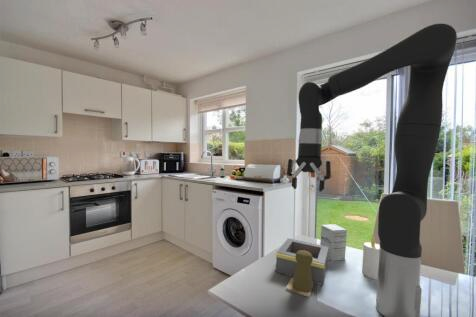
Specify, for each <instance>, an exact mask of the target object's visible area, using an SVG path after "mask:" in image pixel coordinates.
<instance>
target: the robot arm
mask: <svg viewBox="0 0 476 317" xmlns="http://www.w3.org/2000/svg"><path fill="white" fill-rule="evenodd" d="M457 39H458V35H457V31H456V29H455V28H454V27H453V26H452V25H451V24H447V23H433V24H431V25H428V26H425V27H423V28H422V29H420V30H418V31H416V32H414V33H413V34H411V35H409V36H408V37H406V38H404V39H403V40H401V41H400V42H398V43H396V44H394V45H392V46H390V47H389V48H387V49H385V50H383V51H381V52H380V53H378V54H375V55H374V56H372V57H370V58H367V59H365V60H364V61H362V62H360V63H357V64H355V65H352V66H351V67H347V68H346V69H343V70H342V71H341V70H340V71H339V72H336V73H334V74H332V75H330V76H329V77H328V79H327V81H326V82H324V83H323V84H318V83H317V82H314V81H307V82H304V83H303V84H302V86H301V87H300V90H299V91H298V108H299V113H300V125H299V126H300V128H299V129H300V130H299V134H298V140H297V141H298V148H297V151H298V152H297V158H296V159H293V158H288V160H287V170H286V175H287V177H291V187H292V188H293V189H294V190H296V189H297V187H298V176H299V175H300V174H301V173H309V174H310V173H311V174H312V173H315V175H317V177H318V179H319V187H318V192H323V191H324V189H325V185H326V184H325V182H326V180H329V179H331V178H332V173H331V166H332V165H331V161H330V160H326V161H325V160H322V144H323V142H322V141H323V134H322V133H323V131H322V129H323V127H322V126H323V114H322V113H321V111H320V108H319V107H321V106H323V105H326V104H327V103H330V102H331V101H333V100H335V99H337V97H341V96H343V95H347V94H349V93H353V92H354V91H357V90H359V89H361V88H364V87H366V86H368V85H370V84H371V83H372V82H374V81H377V80H378V79H379V78H381V77H383V76H385V75H387V74H390V73H392V72H394V71H397V70H399V69H403V68H406V67H409V80H408V81H409V82H408V89H407V94H406V97H405V99H404V101H403V104H402V106H401V109H400V112H399V114H398V119H397V124H396V129H395V134H394V157H395V164H396V165H395V166H396V173H395V179H394V180H395V181H394V185H393V187H392V190H391V193H388V194H386V195H385V196H384V197H383V198H381V201H380V202H379V205H378V206H379V207H378V214H377V215H378V217H377V218H378V220H377V221H378V223H377V230H378V231H377V235H378V239H379V245H380V249H379V265H378V279H376V281H377V282H376V283H377V284H376V296H375V297H376V298H375V307H376V310H377V312H379V313H380V314H381V315H382V317H421V304H422V294H423V293H422V292H423V291H422V287H421V285H420V281H421V280H420V279H421V278H420V276H421V263H422V262H421V261H422V252H423V251H422V249H423V248H422V244H421V242H420V241H421V240H420V239H421V237H420V235H421V223H422V221H423V220H424V219H425V217H426V215H427V212H428V190H429V189H428V188H429V177H430V173H431V169H432V166H433V164H434V159H435V156H436V153H437V152H436V151H437V146H438V144H439V140H440V139H439V138H440V133H441V127H442V120H443V107H444V106H443V103H444V102H443V90H444V83H445V81H446V77H447V75H448V74H447V73H448V70H449V67H450V63H451V61H452V58H453V55H454V53H455V50H456V44H457ZM295 164H296V165H297V166H298V167H297V169H296V170H295V171H294V172H293V166H295ZM322 165H323V167H324V168H325V170H326V172H325V175H324V174H323V172H322V171H321V169H320V167H321V166H322Z"/></svg>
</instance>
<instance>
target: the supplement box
mask: <svg viewBox="0 0 476 317" xmlns="http://www.w3.org/2000/svg"><path fill="white" fill-rule="evenodd" d="M347 232H348V229H346V228H343V227H341V226H339V225H337V224H335V223H331V224H321V228H320V243H319V245H322V246H327V247H329V251H328V261H331V262H333V261H342V260H346V251H347V250H346V249H347V248H346V247H347Z"/></svg>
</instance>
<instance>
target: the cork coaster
mask: <svg viewBox="0 0 476 317" xmlns="http://www.w3.org/2000/svg"><path fill="white" fill-rule="evenodd" d="M293 280H294V277H293V276H290V279H289V281H288V283H287V285H286V287H285V290H286V291H289V292H292V293H295V294H298V295H302V296H303V297H304V296H305V297H308V298H310V296H311V293H312V291H310V292H301V291H298V290H296V289H295V288H294V287H293ZM313 286H314V282H312V288H313Z"/></svg>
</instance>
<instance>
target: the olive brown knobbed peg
mask: <svg viewBox="0 0 476 317" xmlns="http://www.w3.org/2000/svg"><path fill="white" fill-rule="evenodd" d="M295 257H296V261H297V264H296V269H295V275H294V277H293V278H294V280H293V287H294V288H295V289H296V290H298V291H301V292H310V291H311V292H312V291H313V287H312V283H313V282H312V276H311V263H312V260H313V257H312V254H311V253H310V252H308V251H305V250H300V251H297V253H296V256H295Z"/></svg>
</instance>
